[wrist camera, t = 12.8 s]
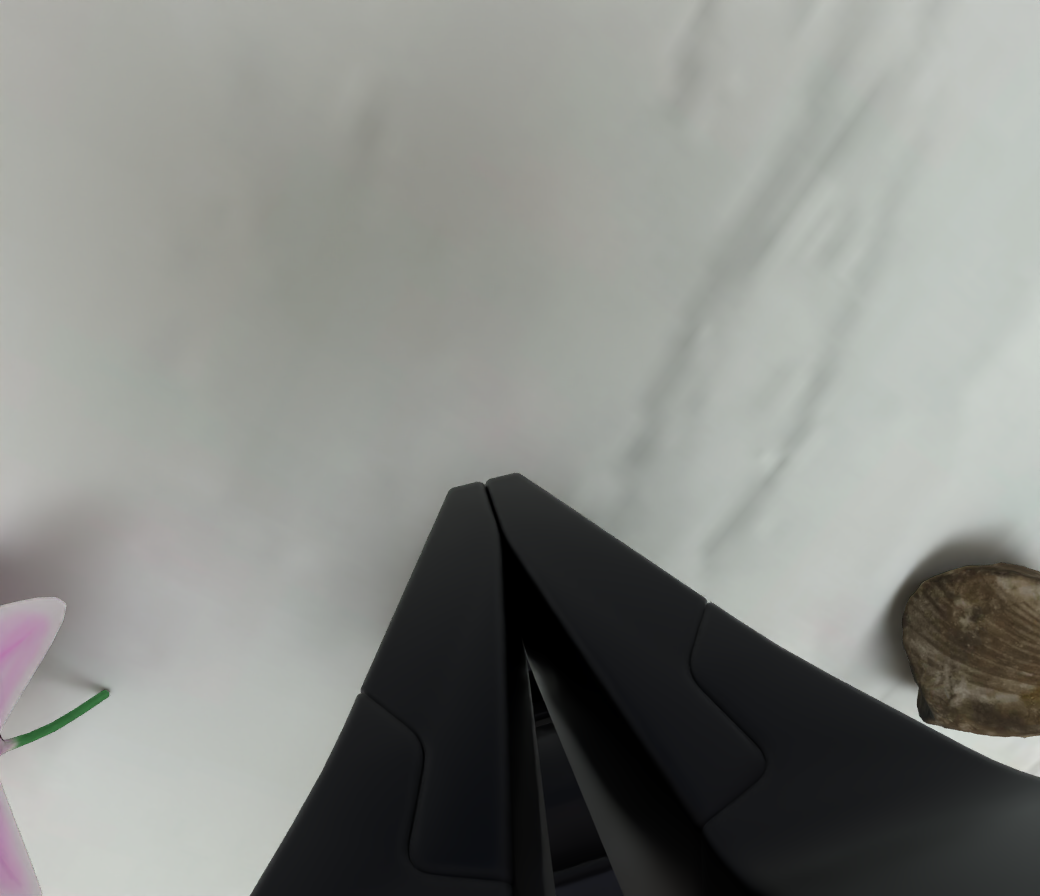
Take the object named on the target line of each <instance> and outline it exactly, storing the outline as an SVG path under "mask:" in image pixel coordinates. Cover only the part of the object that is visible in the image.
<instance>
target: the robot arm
mask: <svg viewBox="0 0 1040 896" xmlns="http://www.w3.org/2000/svg"><path fill="white" fill-rule="evenodd" d="M250 896H1040V777H1037V776H1034V775H1031V774H1028V773H1025V772H1021V771H1019V770H1016V769H1014V768H1011V767H1009V766H1007V765H1004V764H1002V763H999V762H997V761H994V760H992V759H990V758H988V757H986V756H984V755H982V754H980V753H978V752H976V751H974V750H972V749H970V748H968V747H966V746H964V745H962V744H960V743H958V742H956V741H954V740H952V739H950V738H949V737H947V736H945V735H943V734H941V733H939V732H937V731H935V730H934V729H932V728H930V727H928V726H926V725H924V724H922V723H920V722H918V721H917V720H915V719H913V718H911V717H909V716H907V715H905V714H903V713H901V712H900V711H898V710H896V709H894V708H892V707H890V706H888V705H886V704H884V703H883V702H881V701H879V700H877V699H875V698H873V697H871V696H869V695H868V694H866V693H864V692H862V691H860V690H858V689H856V688H854V687H852V686H851V685H849V684H847V683H845V682H843V681H841V680H839V679H837V678H835V677H834V676H832V675H830V674H828V673H826V672H825V671H823V670H821V669H819V668H817V667H816V666H814V665H812V664H810V663H809V662H807V661H805V660H803V659H801V658H800V657H798V656H796V655H794V654H793V653H791V652H789V651H787V650H785V649H784V648H782V647H780V646H779V645H777V644H775V643H774V642H772V641H771V640H769V639H767V638H766V637H764V636H763V635H761V634H760V633H758V632H756V631H755V630H753V629H752V628H750V627H748V626H747V625H745V624H744V623H742V622H741V621H739V620H737V619H736V618H734V617H733V616H731V615H730V614H728V613H727V612H725V611H724V610H722V609H721V608H720V607H718V606H717V605H715V604H714V603H711V602H710V603H707V600H706V599H705V598H704V597H703V596H701V595H700V594H698V593H697V592H695V591H694V590H692V589H691V588H689V587H688V586H686V585H685V584H683V583H682V582H680V581H679V580H677V579H676V578H674V577H673V576H671V575H670V574H668V573H667V572H666V571H664V570H663V569H661V568H660V567H658V566H657V565H655V564H654V563H652V562H651V561H649V560H648V559H646V558H645V557H643V556H642V555H640V554H639V553H637V552H636V551H634V550H633V549H631V548H630V547H628V546H627V545H625V544H624V543H622V542H621V541H619V540H618V539H616V538H615V537H614V536H612V535H611V534H609V533H608V532H606V531H605V530H603V529H602V528H600V527H599V526H597V525H596V524H594V523H593V522H591V521H590V520H588V519H587V518H585V517H584V516H582V515H581V514H579V513H578V512H576V511H575V510H573V509H572V508H570V507H569V506H567V505H566V504H565V503H563V502H562V501H560V500H559V499H557V498H556V497H554V496H553V495H551V494H550V493H548V492H547V491H545V490H544V489H542V488H541V487H539V486H538V485H536V484H535V483H533V482H532V481H530V480H529V479H527V478H526V477H524V476H523V475H521V474H519V473H513V474H509V475H504V476H500V477H496V478H492V479H489V480H488V481H487V482H486V487H485V485H484V484H483V483H481V482H475V483H471V484H467V485H462V486H458V487H454V488H451V489H450V490H449V492H448V494H447V496H446V498H445V500H444V503H443V505H442V507H441V509H440V512H439V514H438V516H437V518H436V521H435V523H434V525H433V527H432V530H431V532H430V534H429V536H428V539H427V541H426V543H425V545H424V548H423V550H422V552H421V554H420V557H419V559H418V561H417V563H416V566H415V568H414V570H413V572H412V575H411V577H410V579H409V581H408V584H407V586H406V588H405V590H404V593H403V595H402V597H401V599H400V602H399V604H398V606H397V608H396V611H395V613H394V615H393V617H392V620H391V622H390V624H389V626H388V629H387V631H386V633H385V635H384V638H383V640H382V642H381V644H380V647H379V649H378V651H377V653H376V656H375V658H374V660H373V662H372V665H371V667H370V669H369V671H368V674H367V676H366V678H365V680H364V683H363V685H362V687H361V693H360V694H359V695H358V696H357V697H356V700H355V702H354V704H353V707H352V709H351V711H350V713H349V716H348V718H347V720H346V723H345V725H344V727H343V729H342V731H341V733H340V735H339V737H338V739H337V741H336V743H335V746H334V748H333V750H332V752H331V754H330V756H329V758H328V760H327V762H326V764H325V766H324V768H323V770H322V772H321V774H320V776H319V777H318V779H317V781H316V783H315V785H314V786H313V788H312V790H311V792H310V794H309V795H308V797H307V799H306V801H305V802H304V804H303V806H302V808H301V810H300V811H299V813H298V815H297V817H296V818H295V820H294V822H293V824H292V826H291V827H290V829H289V831H288V832H287V834H286V836H285V837H284V839H283V841H282V843H281V844H280V846H279V848H278V849H277V851H276V853H275V854H274V856H273V858H272V859H271V861H270V863H269V864H268V866H267V868H266V869H265V871H264V873H263V875H262V876H261V878H260V880H259V881H258V883H257V885H256V886H255V888H254V890H253V891H252V893H251V895H250Z"/></svg>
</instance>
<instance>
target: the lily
mask: <svg viewBox="0 0 1040 896" xmlns="http://www.w3.org/2000/svg"><path fill="white" fill-rule="evenodd" d="M66 605H67V604H66V603H65V602H63V601H62V600H60V599H59V598H57V597H39V598H32V599H27V600H22V601H17V602H13V603H8V604H5V605H1V606H0V733H1V730H2V728H3V726H4V724H5V722H6V720H7V718H8V717H9V715H10V713H11V712H12V710H13V708H14V707H15V705H16V703H17V702H18V700H19V698H20V697H21V695H22V693H23V691H24V690H25V688H26V686H27V685H28V683H29V681H30V680H31V678H32V676H33V675H34V673H35V671H36V670H37V668H38V666H39V665H40V663H41V661H42V660H43V658H44V656H45V655H46V653H47V651H48V650H49V648H50V646H51V644H52V642H53V640H54V639H55V637H56V635H57V633H58V631H59V629H60V627H61V625H62V623H63V621H64V616H65V610H66ZM108 697H109V692H108V691H107V690H103V691H101V692H100V693H98V694H97V695H95V696H94V697H92V698H91V699H89V700H88V701H86V702H85V703H83V704H82V705H80V706H79V707H77V708H75V709H74V710H72V711H70V712H69V713H67V714H65V715H64V716H62V717H60V718H59V719H57V720H55V721H54V722H52V723H50V724H48V725H46V726H43V727H41V728H39V729H37V730H34V731H32V732H30V733H27V734H24V735H20V736H17V737H14V738H10V739H6V740H3V739H2V737H1V735H0V756H1V755H3V754H4V753H6V752H8V751H10V750H13V749H15V748H18V747H20V746H23V745H25V744H28V743H30V742H33V741H35V740H37V739H39V738H41V737H44V736H46V735H48V734H50V733H52V732H55V731H56V730H58V729H60V728H61V727H63V726H65V725H66V724H68V723H70V722H71V721H73V720H74V719H76V718H78V717H79V716H81V715H82V714H84V713H85V712H87V711H88V710H90V709H91V708H93V707H94V706H96V705H97V704H99V703H100V702H102V701H103V700H105V699H106V698H108ZM0 896H42V890H41V887H40V885H39V882H38V879H37V876H36V873H35V871H34V868H33V865H32V863H31V860H30V857H29V855H28V852H27V849H26V847H25V844H24V841H23V839H22V836H21V833H20V831H19V828H18V826H17V823H16V820H15V818H14V815H13V813H12V810H11V807H10V805H9V802H8V800H7V797H6V794H5V792H4V789H3V787H2V784H1V781H0Z"/></svg>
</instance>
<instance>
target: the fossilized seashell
mask: <svg viewBox="0 0 1040 896" xmlns="http://www.w3.org/2000/svg"><path fill="white" fill-rule="evenodd" d="M902 628H903V635H902V641H903V646H904V650H905V652H906V654H907V657H908V660H909V663H910V667H911V670H912V674H913V677H914V680H915V682H916V684H917V685H918V687H919V690H918V697H917V708H918V711H919V716H920V717H921V718H922V720H923V721H924V722H926V723H928V724H933V725H938V726H942V727H944V728H948V729H954V730H959V731H964V732H971V733H975V734H980V735H988V736H1000V737H1012V736H1016V737H1023V738H1026V737H1031V736H1039V735H1040V572H1039V571H1036V570H1033V569H1029V568H1027V567H1024V566H1019V565H1014V564H1008V563H1002V562H1001V563H997V564H992V565H981V566H977V565H969V566H964V567H961V568H957V569H954V570H951V571H947V572H944V573H941V574H939V575H936V576H934V577H931V578H929V579H928V580H926V581H924V582H923V583H922V584H921V585H920V586H919V588H918V589H917V591H916V592H915V593H914V594H913V595H912V596H910V598H909V600H908V602H907V604H906V607H905V611H904V614H903V618H902Z"/></svg>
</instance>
